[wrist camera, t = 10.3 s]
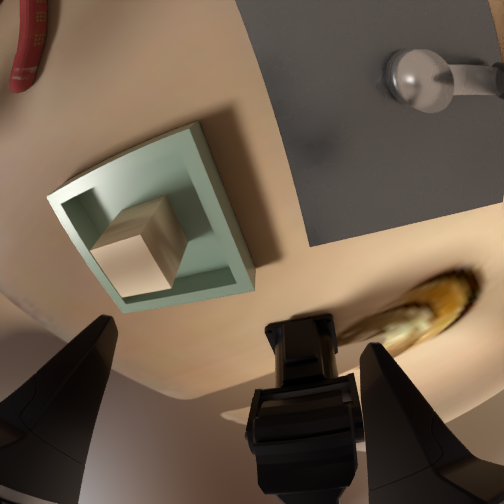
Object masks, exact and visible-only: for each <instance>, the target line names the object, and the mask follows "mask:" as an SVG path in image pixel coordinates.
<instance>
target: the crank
mask: <svg viewBox="0 0 504 504" xmlns="http://www.w3.org/2000/svg"><path fill="white" fill-rule="evenodd" d="M386 80H387V84H388V87H389V89H390V91H391V92H392V94H393V95H394V97H395V98H396V99H397V100H398V101H400V102H401V103H403V104H404V105H407V106H409V107H412V108H414V109H417V110H419V111H422V112H425V113H437V112H440V111H442V110H443V109H445V108H446V107H447V106H448V105H449V103H450V102H451V100H452V97H453V95H497V96H498V97H499V98H500V99H503V100H504V63H502V62H496V63H494V64H493V65H492V66H482V65H468V64H447V63H446V61H445V60H444V59H443V58H442V57H441V56H439V55H438V54H437V53H435V52H433V51H430V50H426V49H406V50H401V51H399V52H397V53H395V54H394V55H393V56H392V57H391V58H390V60H389V62H388V64H387V68H386Z"/></svg>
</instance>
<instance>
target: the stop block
mask: <svg viewBox="0 0 504 504" xmlns="http://www.w3.org/2000/svg"><path fill="white" fill-rule="evenodd" d="M187 244H188V240H187V238H186V236H185V234H184V232H183V230H182V227H181V225H180V223H179V221H178V219H177V217H176V215H175V213H174V211H173V209H172V207H171V204H170V202H169V200H168V198H167V196H166V195H164V196H161V197H158V198H155V199H152V200H149V201H146V202H144V203H141V204H138V205H135V206H132V207H130V208H127V209H124V210H122V211H120V212H119V214H118V215H117V216H116V217H115V218H114V220H113V221H112V222H111V223H110V225H109V226H108V227H107V229H106V230H105V231H104V232H103V234H102V235H101V236H100V238H99V239H98V240H97V242H96V243H95V244H94V246H93V247H92V248H91V250H90V252H91V253H92V255H93V256H94V258H95V259H96V261H97V263H98V264H99V266H100V267H101V269H102V270H103V271H104V273H105V274H106V276H107V277H108V279H109V280H110V282H111V283H112V284H113V286H114V287H115V289H116V290H117V292H118V293H119V294H120V296H121V297H128V296H133V295H138V294H144V293H149V292H155V291H160V290H165V289H170V288H172V286H173V283H174V280H175V277H176V274H177V271H178V269H179V266H180V263H181V260H182V258H183V255H184V252H185V250H186V247H187Z"/></svg>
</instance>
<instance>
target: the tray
mask: <svg viewBox="0 0 504 504" xmlns="http://www.w3.org/2000/svg"><path fill="white" fill-rule="evenodd" d="M164 195H166V196H167V198H168V200H169V202H170V204H171V207H172V209H173V211H174V213H175V215H176V217H177V219H178V221H179V223H180V225H181V227H182V230H183V232H184V234H185V236H186V238H187V240H188V244H187V247H186V250H185V252H184V255H183V258H182V260H181V263H180V266H179V269H178V271H177V274H176V277H175V280H174V283H173V286H172V288H170V289H165V290H160V291H155V292H149V293H144V294H138V295H133V296H128V297H121V296H120V294H119V293H118V292H117V290H116V289H115V287H114V286H113V284H112V283H111V282H110V280H109V279H108V277H107V276H106V274H105V273H104V271H103V270H102V269H101V267H100V266H99V264H98V263H97V261H96V259H95V258H94V256H93V255H92V253H91V252H90V250H91V248H92V247H93V246H94V244H95V243H96V242H97V240H98V239H99V238H100V236H101V235H102V234H103V232H104V231H105V230H106V229H107V227H108V226H109V225H110V223H111V222H112V221H113V220H114V218H115V217H116V216H117V215H118V214H119V212H120V211H122V210H124V209H127V208H130V207H132V206H135V205H138V204H141V203H144V202H146V201H149V200H152V199H155V198H158V197H161V196H164ZM47 199H48V201H49V203H50V204H51V206H52V208H53V210H54V212H55V213H56V215H57V217H58V219H59V220H60V222H61V224H62V225H63V227H64V229H65V230H66V232H67V234H68V235H69V237H70V238H71V240H72V242H73V243H74V245H75V246H76V248H77V249H78V251H79V253H80V254H81V256H82V257H83V259H84V260H85V262H86V263H87V265H88V266H89V268H90V269H91V270H92V272H93V273H94V275H95V276H96V278H97V279H98V280H99V282H100V283H101V285H102V286H103V287H104V289H105V290H106V291H107V293H108V294H109V295H110V297H111V298H112V299H113V301H114V302H115V303H116V305H117V306H118V307H119V309H120V310H121V311H122V312H123V313H130V312H137V311H143V310H150V309H156V308H162V307H168V306H174V305H180V304H186V303H192V302H197V301H203V300H209V299H214V298H220V297H225V296H230V295H236V294H241V293H246V292H251V291H255V273H256V268H255V266H254V263H253V260H252V258H251V255H250V253H249V250H248V247H247V245H246V242H245V240H244V237H243V234H242V232H241V229H240V227H239V224H238V221H237V219H236V216H235V214H234V211H233V208H232V206H231V203H230V201H229V198H228V195H227V193H226V190H225V188H224V185H223V182H222V180H221V177H220V175H219V172H218V169H217V167H216V164H215V161H214V159H213V156H212V154H211V151H210V148H209V146H208V143H207V141H206V138H205V135H204V133H203V130H202V127H201V125H200V122H199V120H198V121H195V122H193V123H190V124H187V125H184V126H182V127H179V128H177V129H174V130H172V131H169V132H167V133H164V134H162V135H159V136H157V137H154V138H152V139H150V140H147V141H145V142H143V143H141V144H138V145H136V146H134V147H132V148H130V149H127V150H125V151H123V152H121V153H119V154H117V155H115V156H113V157H111V158H109V159H107V160H105V161H103V162H101V163H99V164H97V165H95V166H93V167H91V168H89V169H87V170H86V171H84V172H82V173H80V174H78V175H77V176H75V177H73V178H71V179H69V180H68V181H66V182H64V183H63V184H62V185H60V186H59V187H58V188H57V189H56V190H54V191H53V192H52V193H51V194H49V195H48V196H47Z"/></svg>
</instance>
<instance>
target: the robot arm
mask: <svg viewBox="0 0 504 504" xmlns="http://www.w3.org/2000/svg"><path fill="white" fill-rule="evenodd" d="M265 334H266V336H267V339H268V341H269V343H270V345H271V347H272V350H273V352H274V354H275V371H276V388H270V389H255V393H254V397H253V399H252V403H251V408H250V413H249V418H248V422H247V427H246V432H245V438H246V440H247V441H248V444H249V447H250V450H251V452H252V454H253V455H255V456H256V462H257V474H258V485H259V486H260V488H261V489H262V491H263V492H264V494H266V495H268V494H274V495H275V496H276V497H278V499H279V500H280V501H281V502H283V504H341V498H340V497H341V495H342V493H343V492H344V490H345V489H346V487H348V486H350V484H351V482H352V480H353V478H354V476H355V472H356V470H357V466H358V463H357V452H356V443H360V442H364V440H365V442H366V454H367V468H368V487H369V504H504V466H503V465H499V464H495V463H492V462H488V461H485V460H481V459H479V458H477V457H475V456H474V455H473V454H472V453H470V451H469V450H468V449H466V447H465V446H464V445H463V444H462V443H461V442H460V441H459V440H458V439H457V438H456V436H455V435H454V434H453V433H452V432H451V431H450V430H449V428H448V427H447V426H446V425H445V424H444V422H443V421H442V420H441V419H440V417H439V416H438V415H437V413H436V412H435V411H434V410H433V408H432V407H431V406H430V404H429V403H428V402H427V400H426V399H425V398H424V397H423V395H422V394H421V393H420V391H419V390H418V389H417V388H416V386H415V385H414V384H413V383H412V381H411V380H410V379H409V378H408V376H407V375H406V374H405V372H404V371H403V370H402V369H401V368H400V366H399V365H398V364H397V363H396V361H395V360H394V359H393V358H392V356H391V355H390V354H389V353H388V352H387V350H386V349H385V348H384V347H383V345H382V344H381V343H379V342H370V343H369V344H368V345H367V346H366V348H365V349H364V351H363V353H362V354H361V357H360V391H361V404H362V411H361V406H360V401H359V396H358V391H357V386H356V382H355V377H354V373H350V374H348V375H346V376H341V377H338V371H337V365H336V358H335V354H336V353H338V348H337V341H336V334H335V327H334V321H333V316H332V315H331V314H326V315H321V316H316V317H311V318H306V319H301V320H296V321H291V322H285V323H280V324H274V325H269V326H266V327H265ZM117 338H118V330H117V327H116V324H115V321H114V318H113V317H112V316H109V315H104V314H103V315H100V316H99V317H98V318H97V319H96V320H94V321H93V322H92V323H91V324H90V325H89V326H87V327H86V328H85V329H84V330H83V331H82V332H80V333H79V334H78V335H77V336H76V337H75V338H74V339H72V340H71V341H70V342H69V343H68V344H67V345H66V346H65V347H63V348H62V349H61V350H60V351H59V352H58V353H57V354H56V355H55V356H53V357H52V358H51V359H50V360H49V361H48V362H47V363H46V364H45V365H43V366H42V367H41V368H40V369H39V370H38V371H37V372H36V373H35V374H34V375H33V376H32V377H30V378H29V379H28V380H27V381H26V382H25V383H24V384H23V385H22V386H20V387H19V388H18V389H17V390H15V391H14V392H13V393H12V394H11V395H9V396H8V397H7V398H5V399H4V400H3V401H1V402H0V504H56V503H57V504H78V500H79V495H80V489H81V484H82V478H83V473H84V469H85V463H86V459H87V454H88V450H89V446H90V442H91V438H92V433H93V430H94V426H95V422H96V419H97V415H98V411H99V407H100V404H101V401H102V397H103V394H104V391H105V388H106V384H107V381H108V378H109V374H110V370H111V366H112V361H113V356H114V351H115V347H116V342H117ZM362 413H363V418H362ZM363 422H364V426H363ZM364 432H365V438H364Z"/></svg>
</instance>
